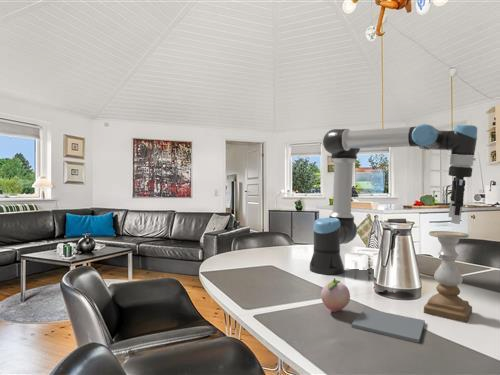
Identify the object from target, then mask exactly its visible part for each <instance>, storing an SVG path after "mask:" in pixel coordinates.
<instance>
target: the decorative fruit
mask: <svg viewBox="0 0 500 375" xmlns="http://www.w3.org/2000/svg"><path fill="white" fill-rule="evenodd" d="M320 297H321V298H320V299H321V300H322V303H323V304H324V306H325V307H326V308H327V309H328V310H330V311H332V312H333V313H336V312H338V311H341V310H343V309H344V308H345V307H347V306H348V305H349V303H350V301H351V292H350V290H349V288H348V287H347V286H346V284H344V283H342V282H341V281H340V280H337V279H336V278H333V280H331V281H328V282H326V283H325V284H324V286H323V287H322V290H321V292H320Z"/></svg>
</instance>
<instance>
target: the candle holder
mask: <svg viewBox="0 0 500 375" xmlns="http://www.w3.org/2000/svg"><path fill="white" fill-rule="evenodd" d="M428 234H429V236H431V237H434V238H437V240H438V242H439V243H440V246H441V248H440V250H439V252H438V255H439V257H440V259H441V263H440V265H439V266H438V267H437V269H436V270H435V272H434V275H433V278H434V280H435V281H436V283H438V284H437V285H436V287H435V288H436V291H437V292H438V293H436V294H432V296H431V297H430V298H429V299H428V300H427V302H426V304H424V306H423V313H424V314H427V315H430V316H435V317H439V318H442V319H447V320H448V319H449V320H451V321H457V322H460V323H466V324H467V323H468V322H469V320H470V318H471V316H472V314H473V307H472V305H470V304H469V300H465V299H462V298H461V297H460V294H461V290H460V288H459V285H461V284H462V283H463V279H464V278H463V276H462V274H461V272H460V271H459V269H458V267H457V266H456V260H457V258H458V257H459V254H458V252H457V250H456V245H457V244H458V243H459V242H460V240H464V239H468V238H469V236H470V235H469V234H468V233H465V232H460V231H459V232H458V231H449V230H446V231H445V230H432V231H429V232H428ZM458 295H459V296H458Z"/></svg>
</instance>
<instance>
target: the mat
mask: <svg viewBox="0 0 500 375" xmlns="http://www.w3.org/2000/svg"><path fill="white" fill-rule="evenodd" d="M359 313H360V314H358V316H357V317H356V318H355V319H354V320H353V322H352V323H351V328H354V329H359V330H363V331H366V332H370V333H375V334H379V335H384V336H387V337H392V338H396V339H401V340H405V341H408V342H414V343H417V344H419V343H420V342H421V341H420V340H421V337H422V334H423V331H424V328H425V323H426V321H425V320H424V319H420V318H415V317H410V316H405V315H400V314H396V313H389V312H386V311H385V312H384V311H380V310H375V309H371V308H364V309H363V310H362V311H361V312H359Z"/></svg>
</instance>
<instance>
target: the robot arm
mask: <svg viewBox="0 0 500 375" xmlns="http://www.w3.org/2000/svg"><path fill="white" fill-rule="evenodd" d="M477 140H478V127H477V126H476V125H472V124H464V125H463V124H460V125H455V126H454V128H453V130H439V129H437V128H435V127H434V126H433V125H431V124H425V123H424V124H419V125H417V126H406V127H390V128H389V127H388V128H387V127H386V128H376V129H375V128H373V129H361V130H357V129H356V130H350V128H334V129H330V130H329V131H327V132H326V133H325V135H324V136H323V139H322V145H323V148H324V150H325V151H326V152H328V153H329V154H331V156H330V157H331V161H332V162H333V163H334V165H333V166H334V167H333V189H332V190H333V193H332V196H333V197H332V212H331V213H330V214H329V215H328V217H320V218H317V219H316V220H314V222H313V254H312V256H311V259H310V262H309V271H310V272H312V273H315V274H322V275H340V274H342V273H344V271H345V266H344V263H343V259H342V256H341V245H344V244H345V245H346V244H348V243H350V242H352V241H353V240H354V239H355V238H356V237H357V233H358V226H357V224H356V223H355V216H354V215H353V213H352V198H353V197H352V195H353V194H352V192H353V168H354V163H355V162H356V161H357V156H358V153H360V151H361V149H372V148H373V149H374V148H377V149H378V148H399V147H400V148H402V147H404V148H405V147H406V148H407V147H409V148H410V147H413V148H414V147H417V148H419V149H422V150H428V151H429V150H436V151H437V150H441V151H442V150H443V151H445V150H446V151H451V152H450V158H449V165H450V166H449V168H448V176H450V177H453V180H452V182H451V185H452V186H451V192H450V197H449V198H450V202H449V210H448V218H451V219H450V220H451V221H450V223H451V224H456V225H460V224H461V217H462V210H463V206H464V196H465V188H466V180H465V179H464V178H472V174H473V166H474V161H476V158H475V153H476V146H477Z"/></svg>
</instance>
